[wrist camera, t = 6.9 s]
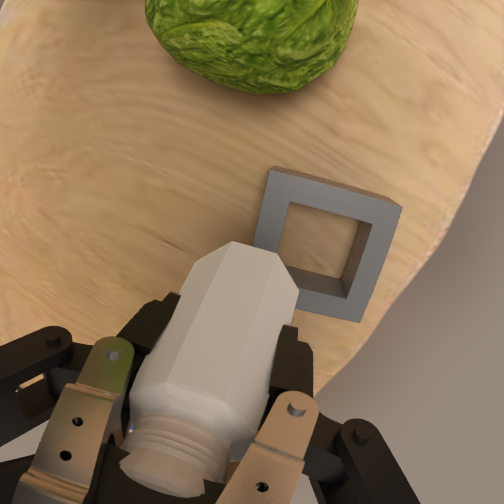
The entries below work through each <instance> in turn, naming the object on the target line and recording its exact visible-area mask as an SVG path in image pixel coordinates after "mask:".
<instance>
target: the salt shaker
mask: <svg viewBox="0 0 504 504" xmlns="http://www.w3.org/2000/svg"><path fill="white" fill-rule="evenodd" d="M178 294H179V295H181V297H180V300H179V302H178V304H177V306H176V309H175V311H174V313H173V316H172V318H171V320H170V322H169V323H168V325H167V326H166V328H165V330H164V331H163V333H162V335H161V336H160V338H159V340H158V341H157V343H156V345H155V346H154V348H153V350H152V351H151V353H150V354H149V355H146V357H145V359H144V361H143V363H142V365H141V367H140V369H139V371H138V373H137V375H136V378H135V380H134V383H133V385H132V388H131V390H130V393H129V402H130V421H131V424H132V425H133V426H134V427H133V431H132V432H130V433H128V435H127V437H126V439H125V440H124V442H123V444H122V445H121V446H120V449H123V450H125V451H127V452H130V454H129V455H128V456H126V457H125V458H124V459H122V460H121V461H120V463H119V464H121V465H120V468H121V469H122V470H123V471H124V473H125V474H126V475H127V476H128V477H130V478H131V479H133V480H134V481H136V482H138V483H140V484H142V485H144V486H146V487H148V488H150V489H153V490H155V491H158V492H161V493H164V494H168V495H173V496H177V497H183V498H189V497H197V496H200V495H201V494H205V488H204V482H203V479H206V480H209V481H213V482H217V483H221V484H224V485H225V483H226V478H227V476H228V472H227V467H228V465H229V463H230V462H236V461H242V459H243V457H244V455H245V454H246V452H247V450H248V448H249V447H250V445H251V443H252V441H253V439H254V437H255V434H256V432H257V429H258V427H259V424H260V422H261V419H262V416H263V414H264V410H265V407H266V404H267V401H268V398H269V394H268V390H269V385H270V380H271V374H272V369H273V364H274V358H275V353H276V347H277V342H278V336H279V334H280V331H281V329H282V326H283V325H289V326H290V324H291V320H292V316H293V313H294V309H295V305H296V302H297V298H298V294H299V290H298V288H297V286H296V284H295V283H294V281H293V279H292V278H291V276H290V274H289V273H288V271H287V269H286V268H285V266H284V264H283V263H282V261H281V259H280V257H279V256H278V254H277V253H274V252H270V251H267V250H263V249H260V248H256V247H252V246H249V245H245V244H242V243H238V242H235V241H231V242H229V243H227V244H225V245H224V246H222V247H220V248H218V249H216V250H215V251H213V252H211V253H209V254H207V255H206V256H204V257H202V258H200V259H199V260H197V261H195V263H194V265H193V267H192V269H191V271H190V272H189V274H188V276H187V278H186V280H185V282H184V283H183V285H182V287H181V289H180V291H179V293H178Z"/></svg>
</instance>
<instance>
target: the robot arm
mask: <svg viewBox="0 0 504 504" xmlns="http://www.w3.org/2000/svg"><path fill="white" fill-rule="evenodd" d="M180 297H181V295H179V294H176V293H173V292H170V293H169V294H168V295H167V296H166V297H165V298H164V300H163V301H162V302H161V301H158V300H153V301H151V302H148V303H146V304H144V306H143V307H142V308H141V309H140V310H139V311H138V312H137V313H136V314H135V315H134V317H133V318H132V319H131V320H130V321H129V322H128V323H127V324H126V325H125V327H124V328H123V329H122V330H121V331H120V332H119V333H118V334H117V336H116V337H114V336H110V337H104V338H102V339H99V340H98V341H97V342H96V343H95V344H94V345H86V344H80V343H75V342H73V341H72V335H71V333H70V332H69V331H68V330H67V329H65V328H63V327H59V326H48V327H44V328H42V329H40V330H37V331H35V332H33V333H30V334H28V335H25V336H23V337H21V338H18V339H16V340H14V341H11V342H9V343H7V344H4V345H2V346H0V447H1V446H2V445H4V444H6V443H8V442H10V441H12V440H13V439H15V438H17V437H19V436H20V435H22V434H24V433H26V432H28V431H29V430H31V429H33V428H34V427H36V426H38V425H40V424H42V423H43V422H45V421H47V420H49V422H48V424H47V427H46V429H45V431H44V434H43V436H42V439H41V441H40V443H39V446H38V449H37V451H36V453H35V454H33V455H30V456H26V457H22V458H18V459H13V460H9V461H5V462H1V463H0V504H289V502H290V500H291V498H292V495H293V493H294V490H295V488H296V485H297V483H298V480H299V478H300V475H301V473H303V474H305V475H307V476H309V480H310V483H311V485H312V488H313V491H314V493H315V496H316V498H317V501H318V504H420V502H419V500H418V498H417V496H416V495H415V493H414V491H413V490H412V488H411V486H410V484H409V482H408V481H407V479H406V477H405V475H404V474H403V472H402V470H401V468H400V467H399V465H398V463H397V461H396V460H395V458H394V456H393V455H392V453H391V451H390V449H389V448H388V446H387V444H386V442H385V441H384V439H383V437H382V435H381V434H380V432H379V430H378V429H377V428H376V427H375V426H374V425H373V424H372V423H370V422H368V421H366V420H363V419H350V420H348V421H346V422H345V423H344V424H340V423H338V422H335V421H333V420H331V419H329V418H327V417H325V416H323V414H321V413H320V412H319V407H318V405H317V403H316V402H315V401H314V399H313V351H312V350H311V348H310V346H309V344H308V343H305V342H301V341H298V328H297V327H293V326H289V325H283V326H282V329H281V331H280V334H279V336H278V342H277V347H276V353H275V358H274V364H273V369H272V374H271V380H270V385H269V390H268V394H269V398H268V401H267V404H266V407H265V410H264V414H263V416H262V419H261V422H260V424H259V427H258V429H257V430H258V431H259V433H258V435H257V437H256V438H255V440H254V441H253V442H252V443H251V445H250V447H249V448H248V450H247V452H246V454H245V455H244V457H243V459H242V461H241V462H240V464H239V466H238V467H237V469H236V471H235V472H234V474H233V476H232V477H231V479H230V481H229V482H228V484H227V485H224V484H221V483H217V482H213V481H209V480H206V479H203V482H204V488H205V494H201V495H200V496H197V497H189V498H183V497H177V496H173V495H168V494H164V493H161V492H158V491H155V490H153V489H150V488H148V487H146V486H144V485H142V484H140V483H138V482H136V481H134V480H133V479H131V478H130V477H128V476H127V475H126V474H125V473H124V471H123V470H122V469H121V468H120V465H121V464H119V463H120V461H121V460H122V459H124V458H125V457H126V456H128V455H129V454H130V452H127V451H125V450H123V449H120V446H121V445H122V444H123V442H124V440H125V439H126V437H127V435H128V433H129V431H130V427H131V421H130V402H129V393H130V390H131V388H132V385H133V383H134V380H135V378H136V375H137V373H138V371H139V369H140V367H141V365H142V363H143V361H144V359H145V357H146V355H149V354H150V353H151V351H152V350H153V348H154V346H155V345H156V343H157V341H158V340H159V338H160V336H161V335H162V333H163V331H164V330H165V328H166V326H167V325H168V323H169V322H170V320H171V318H172V316H173V313H174V311H175V309H176V306H177V304H178V302H179V300H180ZM42 373H43V377H44V378H43V379H41V380H39V381H37V382H35V383H33V384H31V385H29V386H27V387H25V388H24V389H22V390H20V391H18V392H15V391H16V389H17V387H18V386H19V385H21V384H22V383H24V382H26V381H28V380H30V379H32V378H34V377H36V376H38V375H40V374H42Z"/></svg>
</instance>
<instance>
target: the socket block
mask: <svg viewBox="0 0 504 504" xmlns="http://www.w3.org/2000/svg"><path fill="white" fill-rule="evenodd" d="M289 202H294V203H298V204H302V205H305V206H309V207H313V208H317V209H321V210H324V211H328V212H332V213H336V214H339V215H343V216H346V217H350V218H354V219H357V220H361V221H360V224H359V227H358V230H357V234H356V237H355V240H354V243H353V246H352V249H351V252H350V255H349V258H348V261H347V264H346V267H345V270H344V273H343V275H342V278H341V279H337V278H333V277H329V276H325V275H321V274H317V273H313V272H309V271H305V270H301V269H297V268H293V267H289V266H285V265H284V266H285V268H286V269H287V271H288V273H289V274H290V276H291V278H292V279H293V281H294V283H295V284H296V286H297V288H298V290H299V294H298V298H297V302H296V305H295V309H300V310H304V311H308V312H312V313H317V314H321V315H326V316H330V317H334V318H339V319H343V320H348V321H353V322H357V323H360V321H361V318H362V316H363V314H364V311H365V309H366V307H367V304H368V302H369V300H370V297H371V295H372V292H373V290H374V287H375V285H376V282H377V280H378V277H379V274H380V272H381V269H382V266H383V264H384V261H385V258H386V256H387V253H388V250H389V247H390V244H391V241H392V238H393V236H394V233H395V230H396V227H397V224H398V220H399V217H400V214H401V211H402V208H403V207H402V206H400V205H399V204H397V203H396V202H394V201H393V200H391V199H390V198H388V197H385V196H382V195H379V194H375V193H372V192H369V191H366V190H362V189H359V188H356V187H352V186H349V185H345V184H342V183H338V182H335V181H331V180H327V179H324V178H320V177H316V176H313V175H309V174H305V173H301V172H297V171H293V170H289V169H285V168H281V167H277V166H273V167H272V168H271V169H270V171H269V176H268V180H267V184H266V189H265V193H264V197H263V202H262V206H261V211H260V215H259V219H258V224H257V228H256V232H255V237H254V241H253V246H252V247H256V248H260V249H263V250H267V251H270V252H274V253H277V249H278V245H279V241H280V238H281V234H282V230H283V226H284V222H285V218H286V214H287V210H288V206H289Z"/></svg>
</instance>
